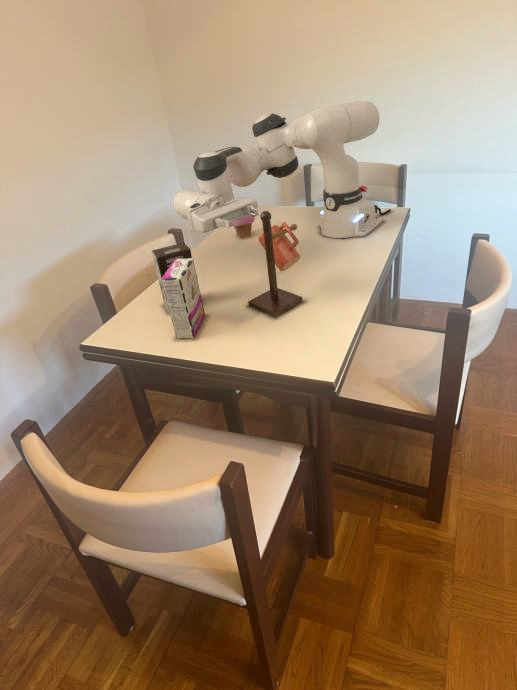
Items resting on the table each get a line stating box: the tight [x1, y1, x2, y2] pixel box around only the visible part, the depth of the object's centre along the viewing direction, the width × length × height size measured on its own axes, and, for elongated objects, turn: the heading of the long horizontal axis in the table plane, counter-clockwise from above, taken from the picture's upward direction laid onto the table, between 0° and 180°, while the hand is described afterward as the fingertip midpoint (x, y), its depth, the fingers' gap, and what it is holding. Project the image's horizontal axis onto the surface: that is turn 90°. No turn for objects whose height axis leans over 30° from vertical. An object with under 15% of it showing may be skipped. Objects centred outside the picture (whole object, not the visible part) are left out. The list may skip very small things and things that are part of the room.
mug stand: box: [247, 210, 303, 318], centre depth 121 cm, size 15×10×25 cm
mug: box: [257, 221, 302, 272], centre depth 123 cm, size 10×6×10 cm
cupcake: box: [232, 215, 256, 239], centre depth 168 cm, size 9×9×10 cm
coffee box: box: [151, 242, 193, 314], centre depth 128 cm, size 9×6×16 cm
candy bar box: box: [161, 257, 207, 340], centre depth 117 cm, size 11×5×16 cm, turn 171°
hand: (243, 218), depth 131 cm, fingers open, 8 cm apart
